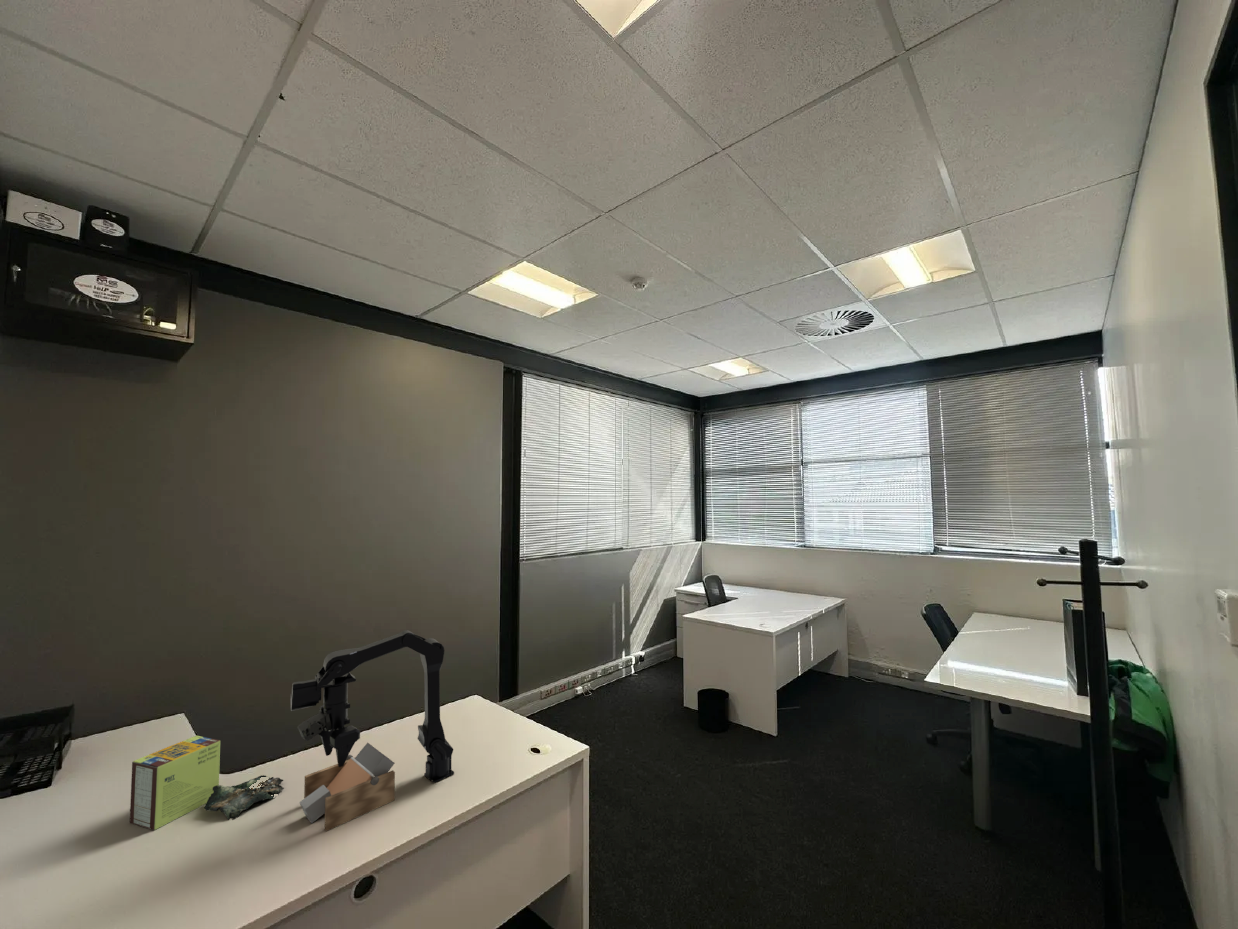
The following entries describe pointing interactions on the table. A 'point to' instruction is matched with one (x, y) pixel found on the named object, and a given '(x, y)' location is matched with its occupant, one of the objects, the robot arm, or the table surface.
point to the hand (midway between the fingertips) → (334, 760)
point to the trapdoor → (361, 769)
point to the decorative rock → (241, 796)
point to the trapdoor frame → (351, 795)
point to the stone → (315, 803)
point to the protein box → (173, 781)
